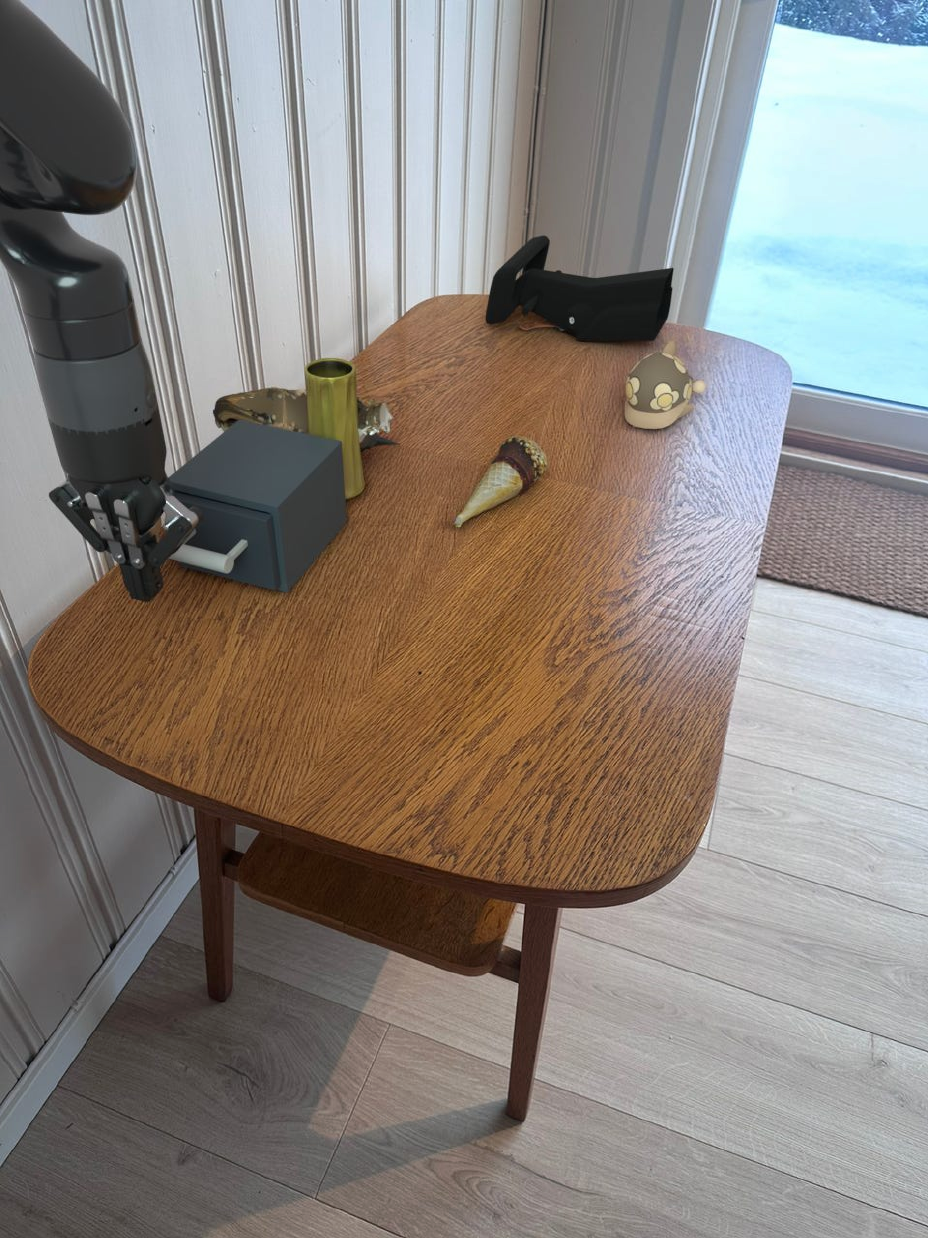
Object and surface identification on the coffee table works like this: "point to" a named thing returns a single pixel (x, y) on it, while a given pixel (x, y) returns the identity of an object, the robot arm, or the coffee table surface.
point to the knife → (537, 325)
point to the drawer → (231, 543)
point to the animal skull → (297, 413)
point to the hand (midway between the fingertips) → (146, 595)
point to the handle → (581, 298)
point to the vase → (336, 413)
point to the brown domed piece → (659, 390)
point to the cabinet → (275, 487)
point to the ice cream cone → (506, 476)
